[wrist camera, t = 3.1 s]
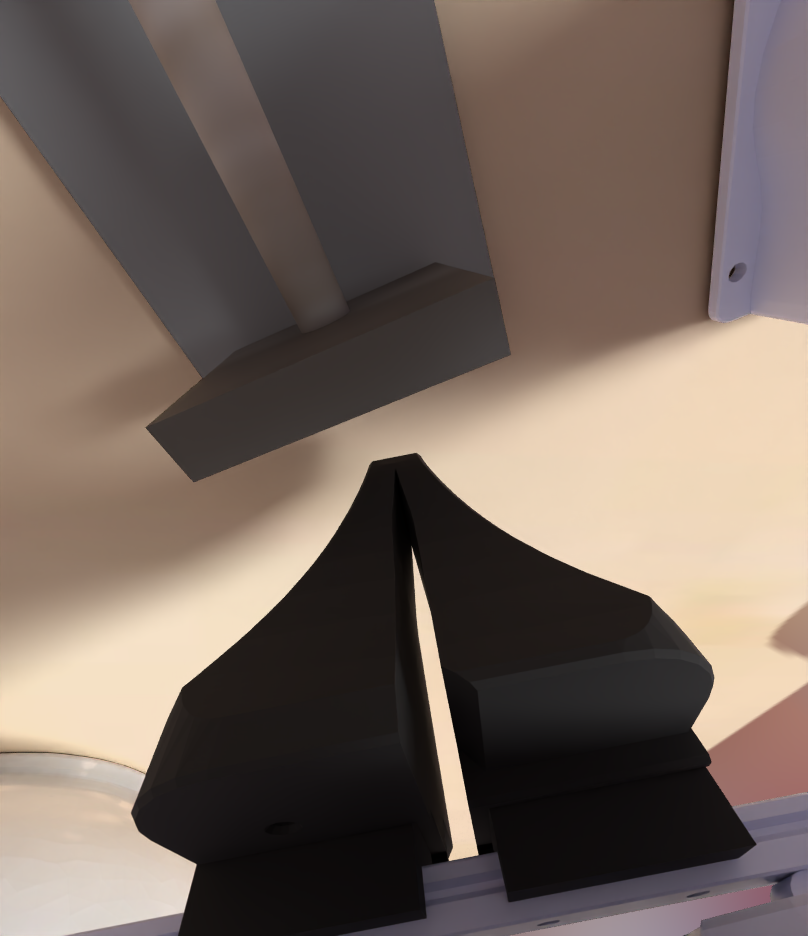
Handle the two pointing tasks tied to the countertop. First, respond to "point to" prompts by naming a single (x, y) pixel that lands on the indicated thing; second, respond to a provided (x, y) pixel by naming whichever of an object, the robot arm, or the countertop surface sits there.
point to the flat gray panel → (297, 134)
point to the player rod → (299, 283)
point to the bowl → (79, 849)
